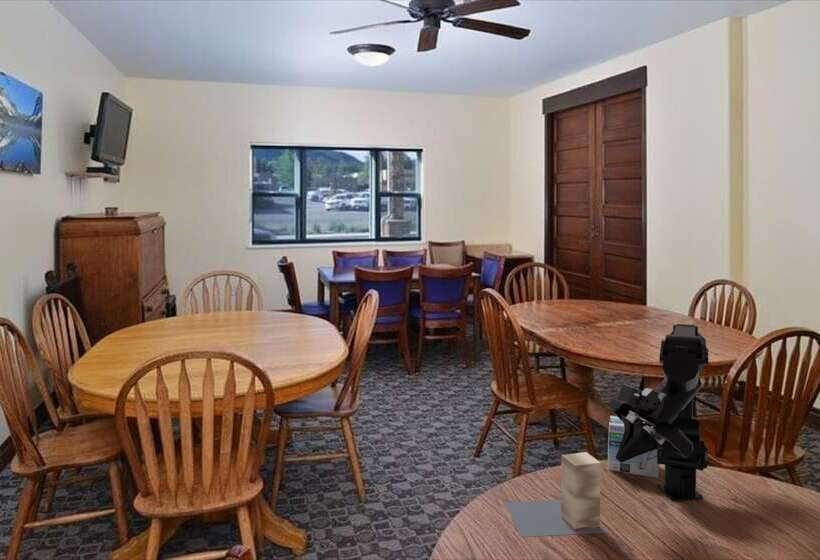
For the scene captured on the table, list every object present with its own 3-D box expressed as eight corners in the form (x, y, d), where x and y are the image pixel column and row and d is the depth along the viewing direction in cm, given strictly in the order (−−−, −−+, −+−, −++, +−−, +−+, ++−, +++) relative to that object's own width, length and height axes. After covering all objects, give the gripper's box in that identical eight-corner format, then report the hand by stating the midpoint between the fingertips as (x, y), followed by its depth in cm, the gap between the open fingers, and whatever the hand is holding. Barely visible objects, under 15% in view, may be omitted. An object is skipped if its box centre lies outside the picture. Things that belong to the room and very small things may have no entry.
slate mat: (504, 504, 118) (504, 502, 117) (581, 500, 118) (581, 498, 118) (520, 539, 105) (520, 537, 105) (607, 534, 106) (607, 532, 106)
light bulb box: (607, 472, 132) (608, 424, 131) (608, 460, 138) (609, 414, 137) (660, 478, 128) (661, 429, 127) (658, 465, 134) (659, 419, 133)
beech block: (585, 513, 112) (586, 452, 111) (599, 526, 107) (600, 462, 106) (561, 517, 111) (561, 455, 110) (574, 530, 106) (575, 465, 105)
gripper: (616, 357, 118) (565, 417, 117) (680, 382, 100) (620, 453, 99) (650, 392, 121) (600, 451, 120) (718, 423, 103) (661, 492, 102)
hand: (618, 460), depth 110 cm, fingers closed
